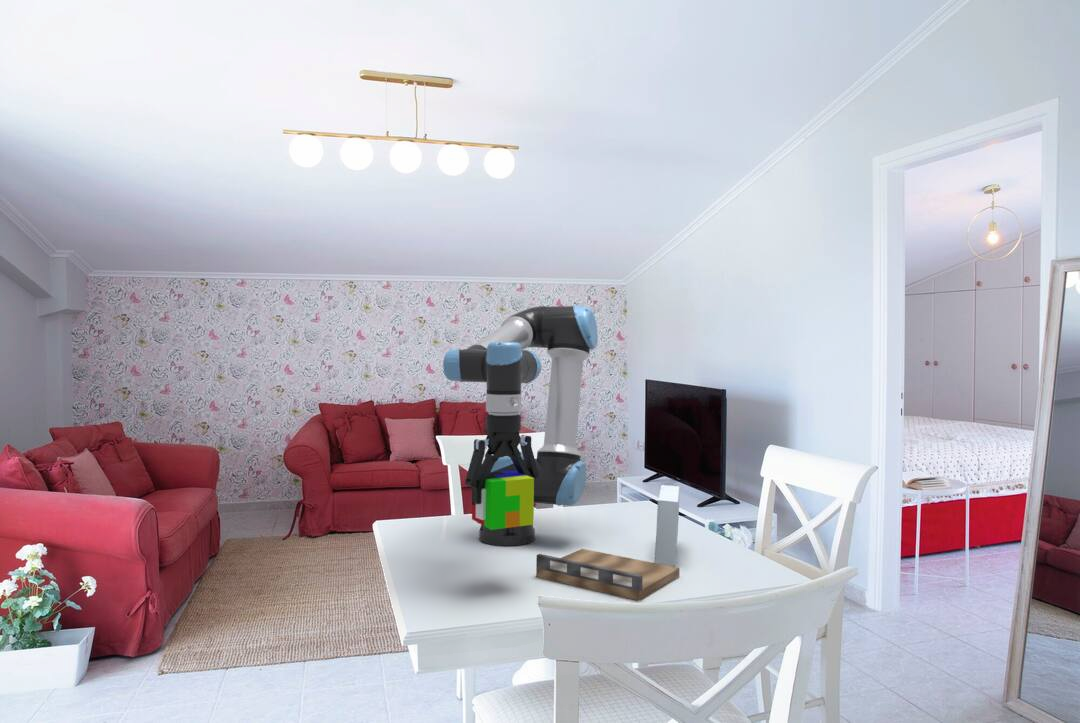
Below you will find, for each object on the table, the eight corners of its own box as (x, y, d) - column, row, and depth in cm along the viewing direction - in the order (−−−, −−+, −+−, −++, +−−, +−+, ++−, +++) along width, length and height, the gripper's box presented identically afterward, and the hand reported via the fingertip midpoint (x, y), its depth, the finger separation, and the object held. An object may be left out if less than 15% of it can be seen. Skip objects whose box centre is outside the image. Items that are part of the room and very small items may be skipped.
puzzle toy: (512, 514, 166) (513, 470, 166) (533, 524, 158) (533, 478, 157) (471, 519, 162) (472, 473, 161) (490, 529, 153) (491, 482, 152)
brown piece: (535, 577, 167) (536, 555, 166) (582, 556, 183) (582, 536, 183) (639, 601, 152) (639, 577, 152) (679, 576, 168) (679, 554, 168)
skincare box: (677, 567, 176) (678, 501, 175) (654, 565, 177) (655, 500, 176) (678, 544, 196) (679, 485, 196) (657, 543, 197) (659, 483, 197)
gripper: (468, 418, 149) (467, 526, 149) (555, 412, 163) (554, 510, 164) (448, 414, 154) (447, 519, 155) (534, 409, 169) (533, 504, 170)
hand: (502, 514), depth 159 cm, fingers closed on puzzle toy, 11 cm apart
